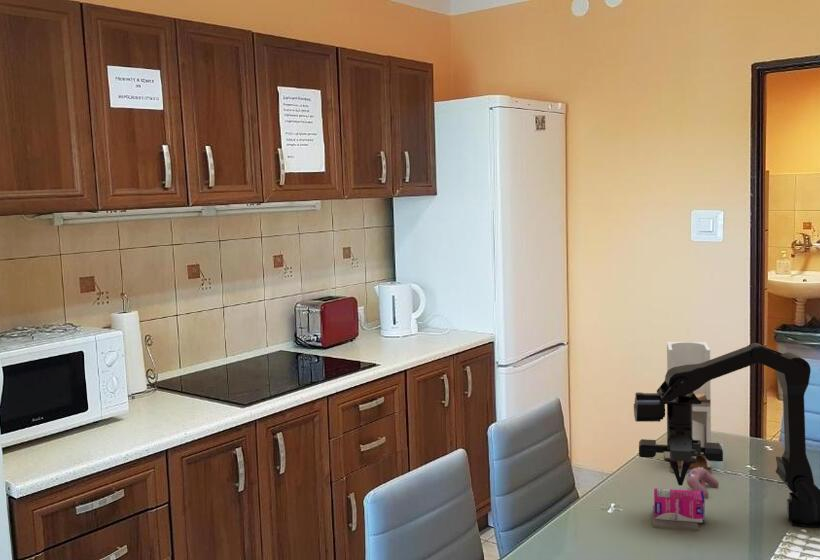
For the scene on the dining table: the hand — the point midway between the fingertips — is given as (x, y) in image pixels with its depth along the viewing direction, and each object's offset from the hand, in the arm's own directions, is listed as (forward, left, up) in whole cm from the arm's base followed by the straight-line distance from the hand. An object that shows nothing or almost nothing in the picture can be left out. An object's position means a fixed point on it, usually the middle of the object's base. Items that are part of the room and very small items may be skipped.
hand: (680, 484), depth 184 cm
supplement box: (-6, 0, -5) cm, 8 cm away
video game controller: (-6, -20, -9) cm, 22 cm away
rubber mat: (+1, 0, -9) cm, 9 cm away
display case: (-4, -38, -9) cm, 39 cm away
